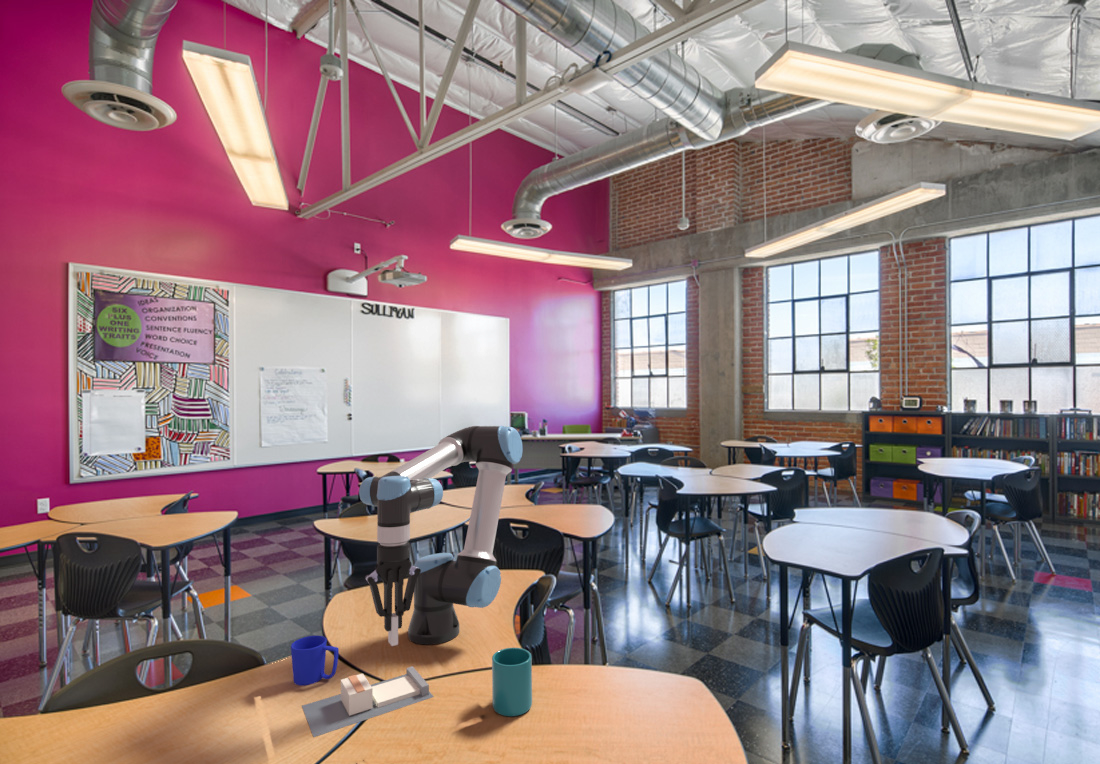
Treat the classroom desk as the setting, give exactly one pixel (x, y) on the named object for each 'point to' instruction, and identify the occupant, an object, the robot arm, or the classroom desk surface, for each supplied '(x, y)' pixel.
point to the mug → (311, 659)
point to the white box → (356, 694)
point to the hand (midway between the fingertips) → (393, 643)
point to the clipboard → (385, 699)
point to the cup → (512, 681)
